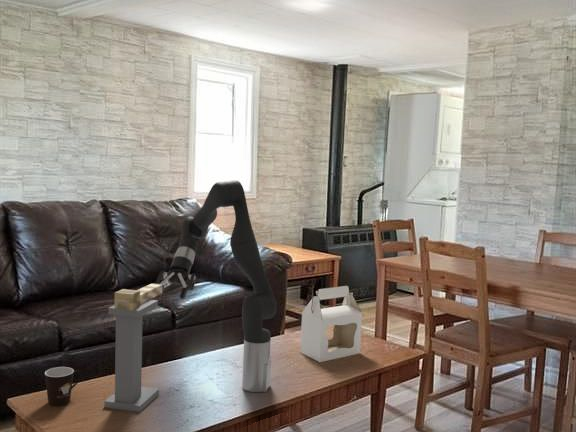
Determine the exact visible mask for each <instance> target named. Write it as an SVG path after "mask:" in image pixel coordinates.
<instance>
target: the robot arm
mask: <svg viewBox="0 0 576 432" xmlns="http://www.w3.org/2000/svg"><path fill="white" fill-rule="evenodd" d="M243 187H244V186H243V184H242V183H241V182H240V180H234V179H233V180H225V181H223V180H222V181H217V182H215V183H214V184H213V185H212V187H211V188H210V189H209V192H208V194H207V196H206V198H205V200H204V203H203V204H202V206H201V207H200V208H199V210H198V211H196V213H195V214H194V216H191V215H190V216H187V217H185V218H184V219H183V221H182V223H181V235H180V241H179V245H178V248H177V250H176V252H175V254H174V256H173V259H172V261H171V265H170V268H169V271H168V272H166V271H164V270H160V272H159V273H158V276H157V278H156V280H155V284H162V293H161V294H159V295H157V296H158V298H162V296H163V295H164V290H165V288H167V287H169V286H171V285H176V286H180V285H182V288H181V291H180V293H179V298H180V300H184V299H186V296H187V293H188V291H193V290H194V288H195V284H196V281H197V277H196V274H195V273H191V274H190V272H191V269H192V267H193V265H194V261H195V256H196V253H197V250H198V247H199V241H198V240H202V239H204V238H205V237H207V234H208V231H209V228H210V226H211V225H212V223H213V222H214V221H215V220H216V218H217V216H218V209H219V208H226V207H227V208H228V207H233V210H234V215H235V222H234V227H233V229H232V232H231V235H230V241H229V245H230V249H231V253H232V256H233V259H234V262H235V263H236V265H237V267H238V268H239V269H240V270H241V271H242V272H243V274H244V275H245V276H246V277H247V278H248V280H249V281H250V283H251V285H252V287H253V288H252V289H253V291H254V294H251V295H250V294H249V295H247V296H246V297H245V298H244V299H243V301H242V306H241V320H242V321H241V324H242V326H241V327H242V328H241V329H242V333H243V355H242V356H243V358H242V382H241V383H242V384H241V385H242V389H243V390H244V391H246V392H250V393H262V392H263V393H267V391H268V390H269V388H270V387H271V378H272V377H271V375H272V374H271V373H272V360H271V359H270V358H271V336H272V334H271V331H270V330H269V329H266V328H263V321H264V320H268V319H271V318H274V317H275V315H276V314H277V309H278V307H277V305H278V304H277V301H276V298H275V295H274V294H275V293H274V291H273V290H272V287H271V285H270V283H269V282H270V281H269V279H268V277H267V274H266V270H265V267H264V265H263V261H262V257H261V253H260V249H259V246H258V243H257V240H256V237H255V234H254V230H253V226H252V223H251V218H250V214H249V209H248V204H247V203H248V202H247V199H246V194H245V190H244V188H243ZM187 280H189V283H188V284H187V283H186V281H187Z"/></svg>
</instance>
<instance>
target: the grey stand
mask: <svg viewBox="0 0 576 432" xmlns="http://www.w3.org/2000/svg"><path fill="white" fill-rule="evenodd" d="M158 307H159V300H157V299H150V300H148V301H146V302H144V303H142V304H140V307H138V308H136V309H134V310H124V309H114V305H111V306H110V307H108V309H107V310H108V315H112V316H113V315H114V316H115V358H114V360H115V361H114V364H115V365H114V368H115V369H114V372H115V373H114V393H113V394H112V395H110V396H109V397H107V398H106V399H105V400H104V401H103V402H104V404H103V405H104V406H103V408H106V409H107V408H108V409H114V410H123V411H129V412H136V413H141V411H143V410H144V409H145V408H146V407H147V406H148V405H149V404H151V402H153V400H155V399H156V398H157V397H158V396H159V395H160V388H154V387H147V386H142V368H143V365H142V364H143V362H142V361H143V315H146V314H147V313H149V312H151V311H152V310H154V309H156V308H158Z"/></svg>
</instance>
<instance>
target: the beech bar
mask: <svg viewBox="0 0 576 432" xmlns="http://www.w3.org/2000/svg"><path fill="white" fill-rule="evenodd" d="M161 293H162V284H156V283H150V284H148V285H145V286H143V287H141V288H139V289H136V290H135V289H127V288H122V289H120V290H118V291H117V290H116V291H114V304H113V306H114V309H124V310H134V309H136V308H138V307H140V304H142V303H144V302H146V301H148V300H153V299H154V298H156V297H157V296H158V295H159V294H161Z"/></svg>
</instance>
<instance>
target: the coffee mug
mask: <svg viewBox="0 0 576 432" xmlns="http://www.w3.org/2000/svg"><path fill="white" fill-rule="evenodd" d="M82 372H83V371H81V370H78V369H76V370H74V368H72V367H67V366H58V367H51V368H49V369H47V370H45V372H44V377H45V378H44V379H45V386H46V395H47V403H48V405H49V406H50V407H63V406H66V405H68V404H70V403H71V396H72V390H73V389H74V388H75V387H76V386H77V385H78V384H79V382H80V380H81V379H82V377H83V373H82ZM76 373H79V378H78V379H77V380H76V382H74V384H73V380H74V374H76Z"/></svg>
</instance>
